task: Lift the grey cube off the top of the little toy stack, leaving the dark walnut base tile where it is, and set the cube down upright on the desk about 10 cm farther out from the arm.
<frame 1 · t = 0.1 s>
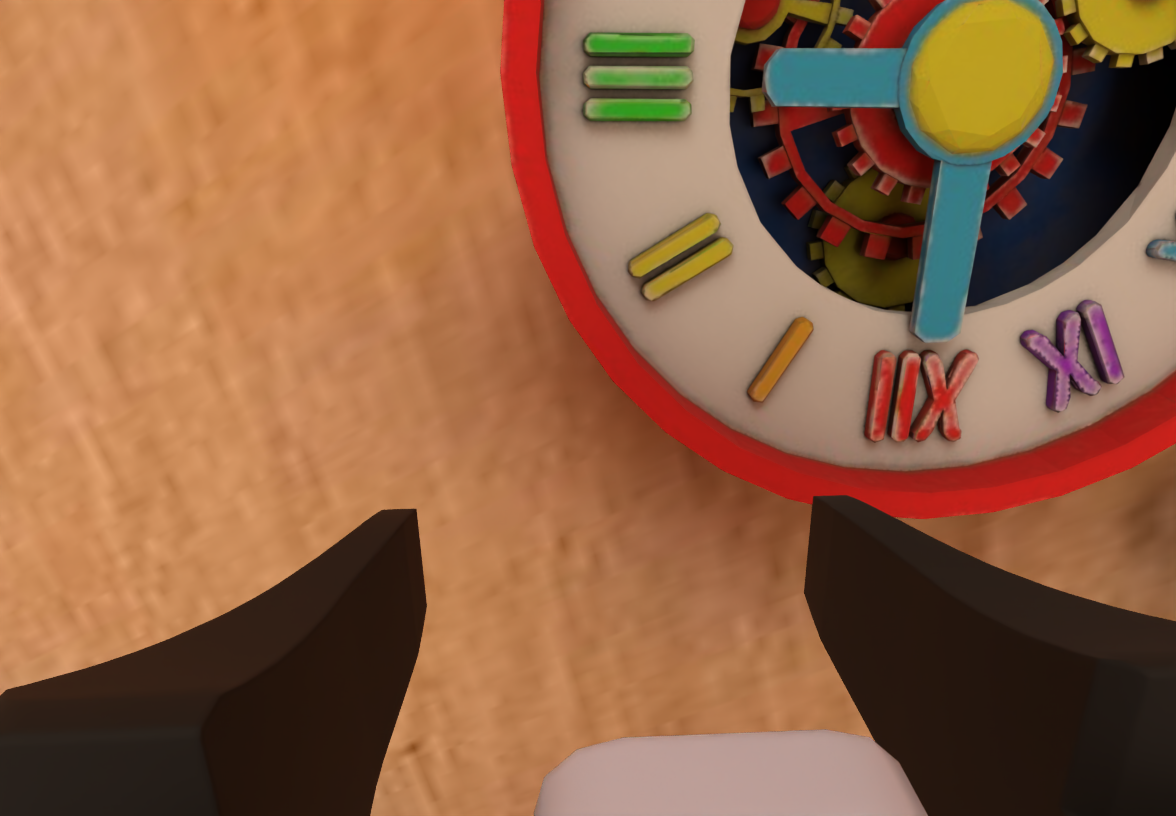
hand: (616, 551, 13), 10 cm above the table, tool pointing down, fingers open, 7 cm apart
toy clock: (878, 93, 21), on the table
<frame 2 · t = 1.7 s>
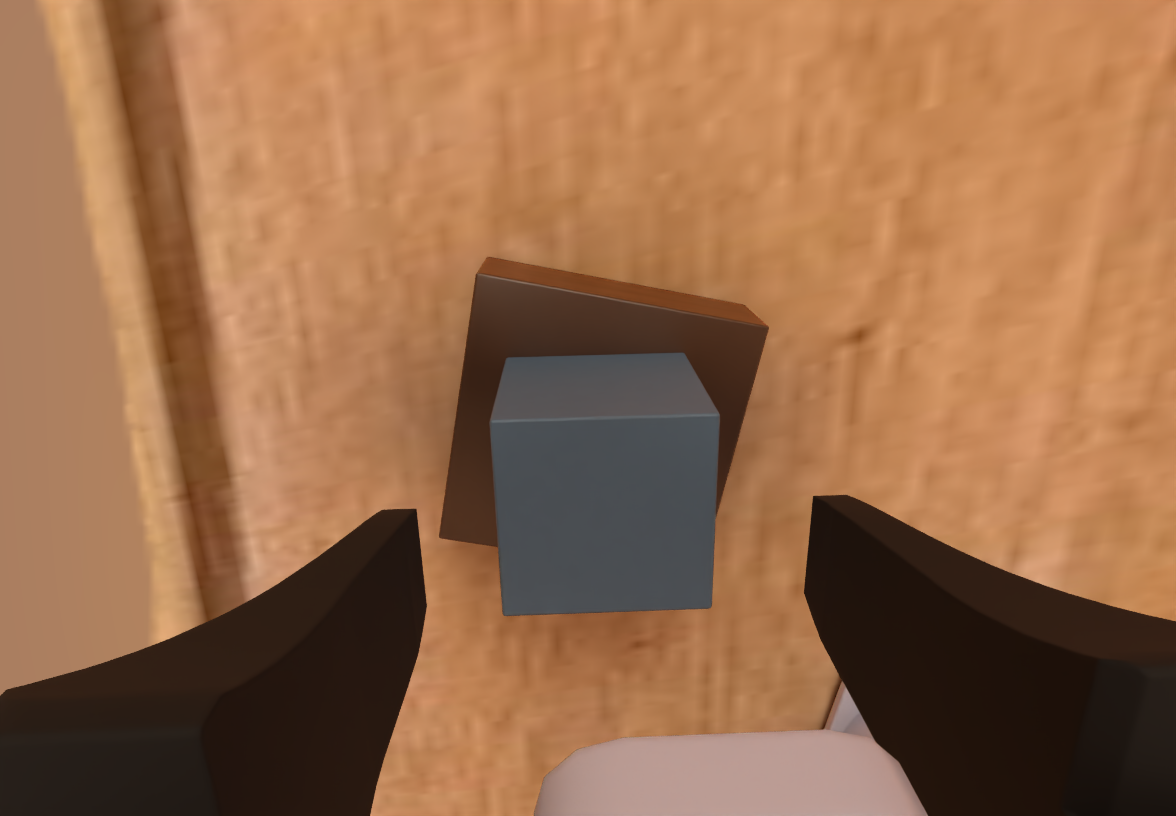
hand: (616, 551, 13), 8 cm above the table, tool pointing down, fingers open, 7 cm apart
grey cube: (596, 437, 19), point 3 cm above the table, touching walnut tile
walnut tile: (592, 403, 21), on the table, touching grey cube
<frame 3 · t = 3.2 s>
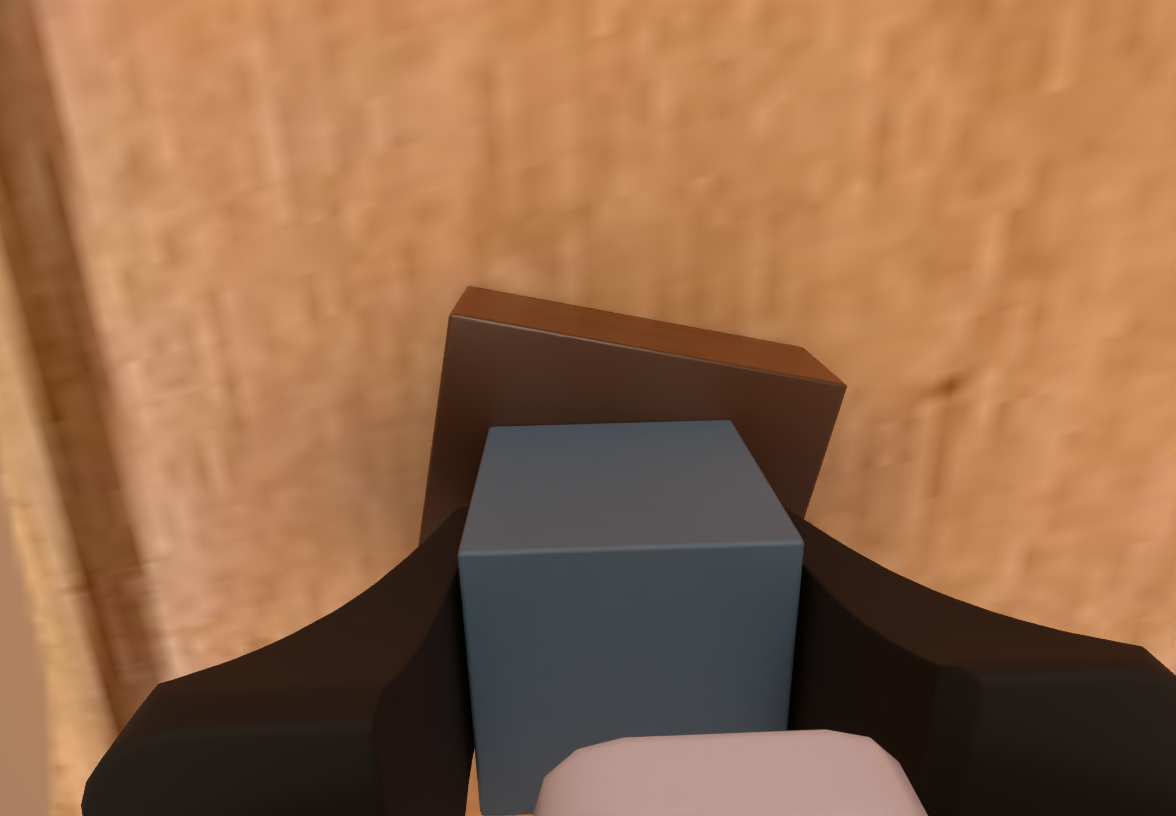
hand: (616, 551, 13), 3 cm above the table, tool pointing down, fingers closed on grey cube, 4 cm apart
grey cube: (611, 529, 14), point 3 cm above the table, touching gripper, walnut tile
walnut tile: (605, 472, 17), on the table, touching grey cube
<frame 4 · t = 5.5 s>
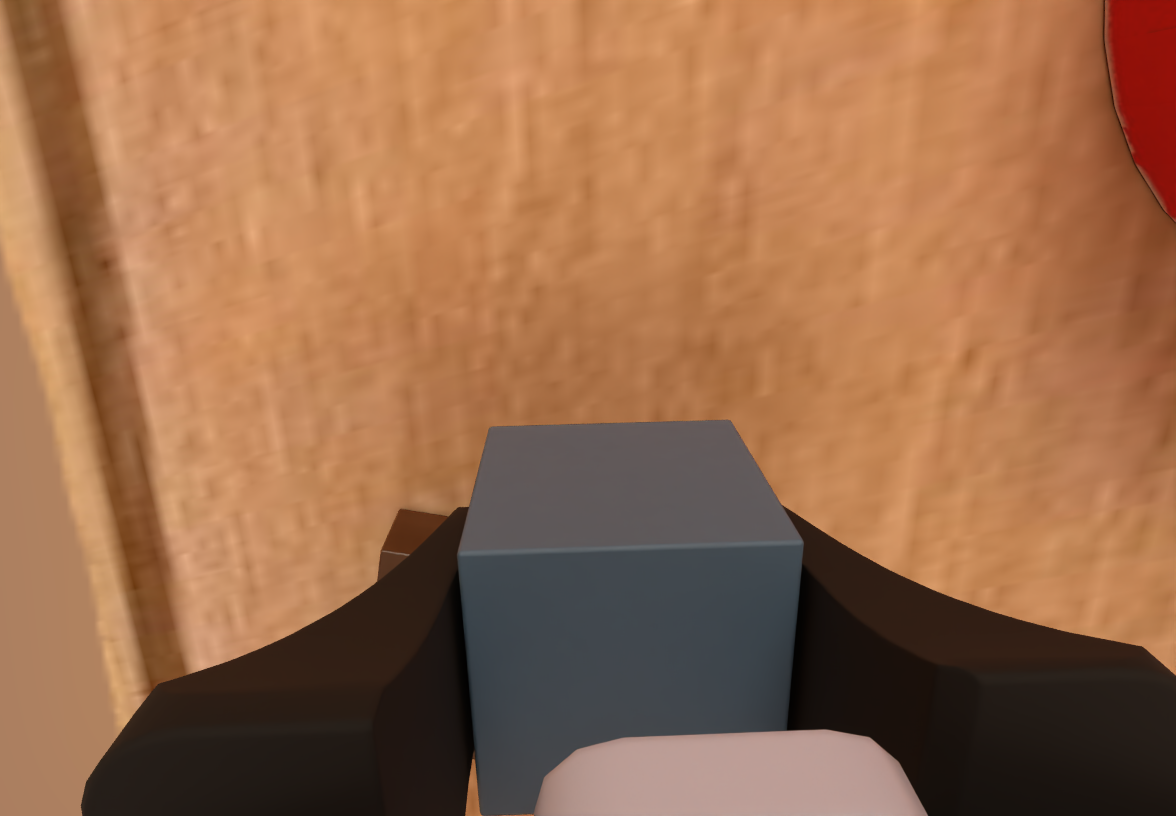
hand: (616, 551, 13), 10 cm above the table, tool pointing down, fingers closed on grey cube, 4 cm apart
grey cube: (611, 529, 14), point 9 cm above the table, touching gripper
walnut tile: (494, 618, 25), on the table
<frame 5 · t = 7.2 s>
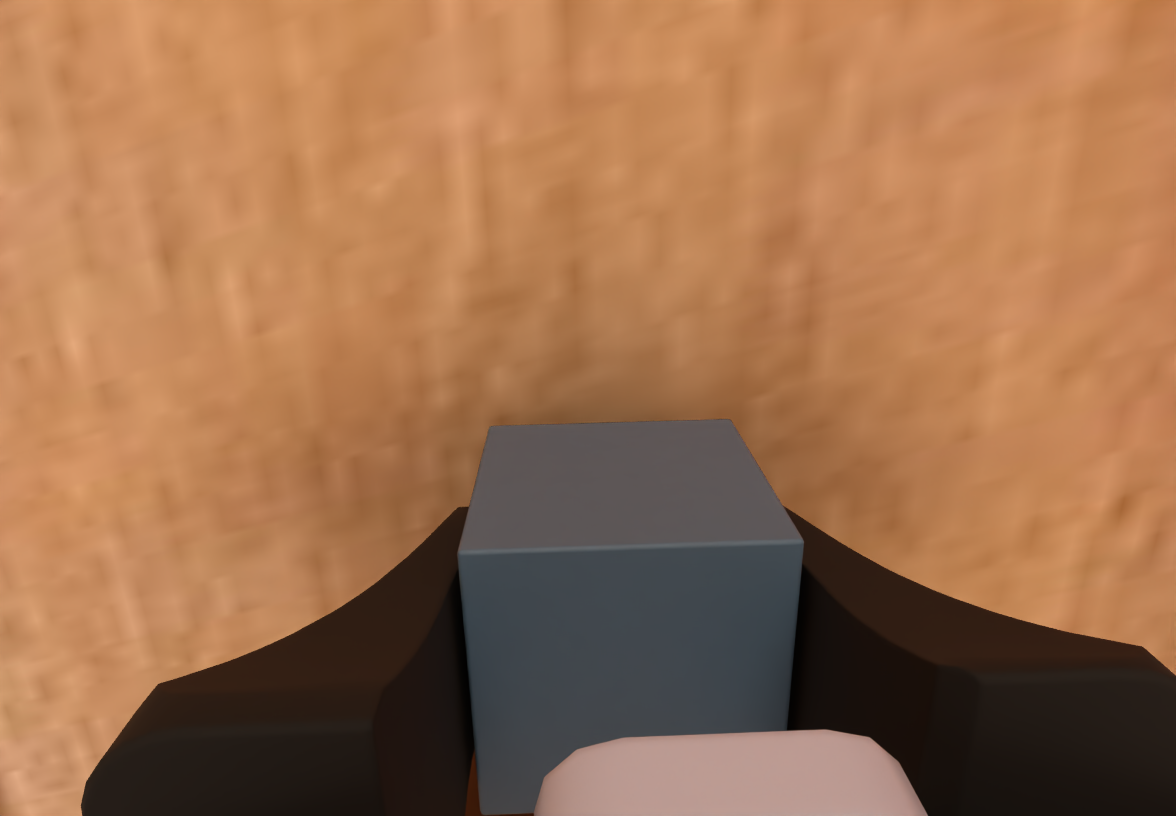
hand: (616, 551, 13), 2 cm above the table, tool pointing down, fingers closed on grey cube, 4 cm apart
grey cube: (611, 528, 14), point 1 cm above the table, touching gripper
when the fingers open (1 cm above the table, at t = 8.1 s): grey cube stays where it is, on the table.
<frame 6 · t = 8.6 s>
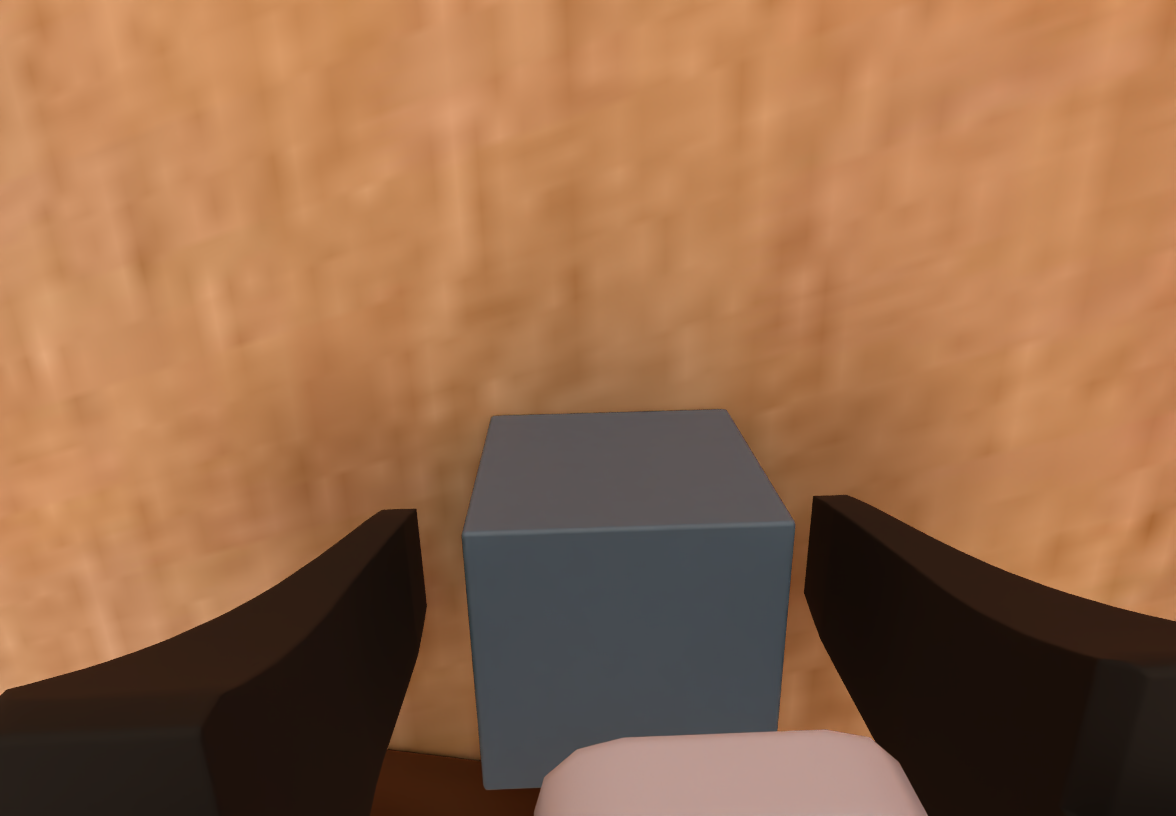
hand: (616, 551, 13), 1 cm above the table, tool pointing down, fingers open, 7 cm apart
grey cube: (610, 516, 15), on the table
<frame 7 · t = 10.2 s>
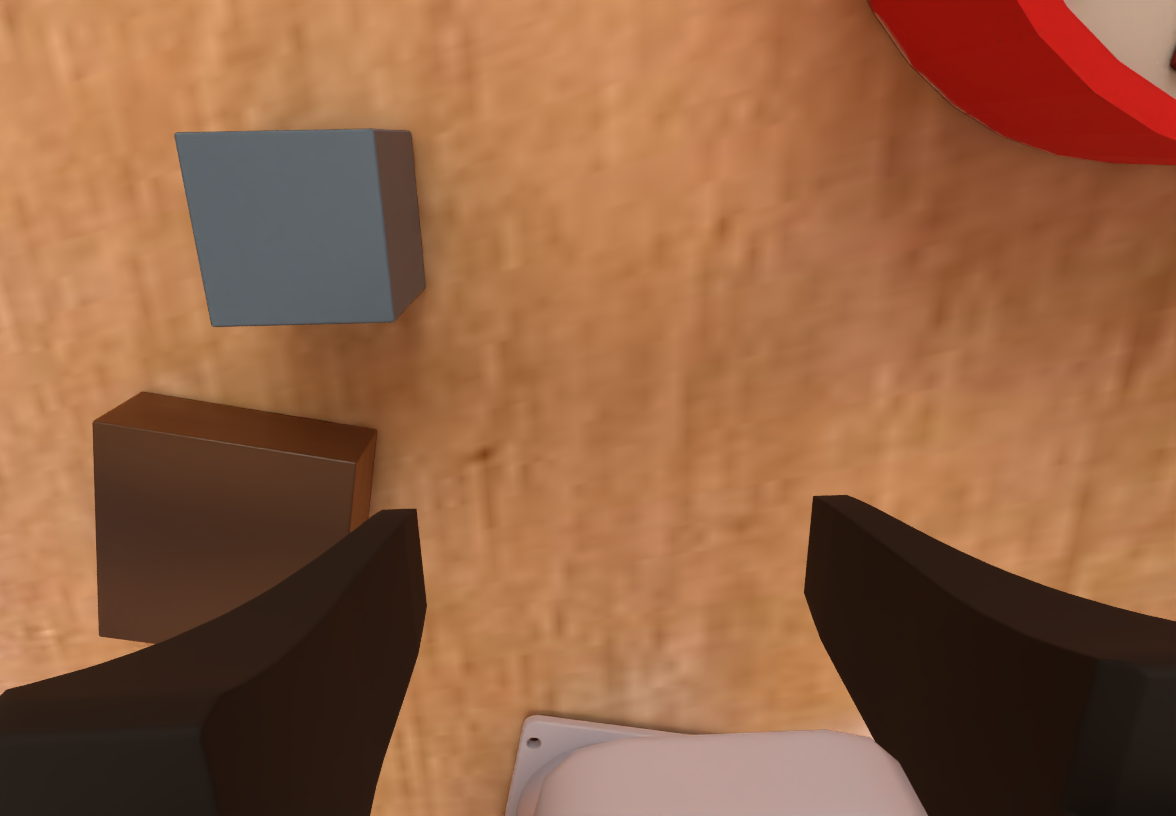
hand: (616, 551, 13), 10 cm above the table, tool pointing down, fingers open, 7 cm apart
grey cube: (341, 214, 21), on the table
walnut tile: (256, 511, 24), on the table
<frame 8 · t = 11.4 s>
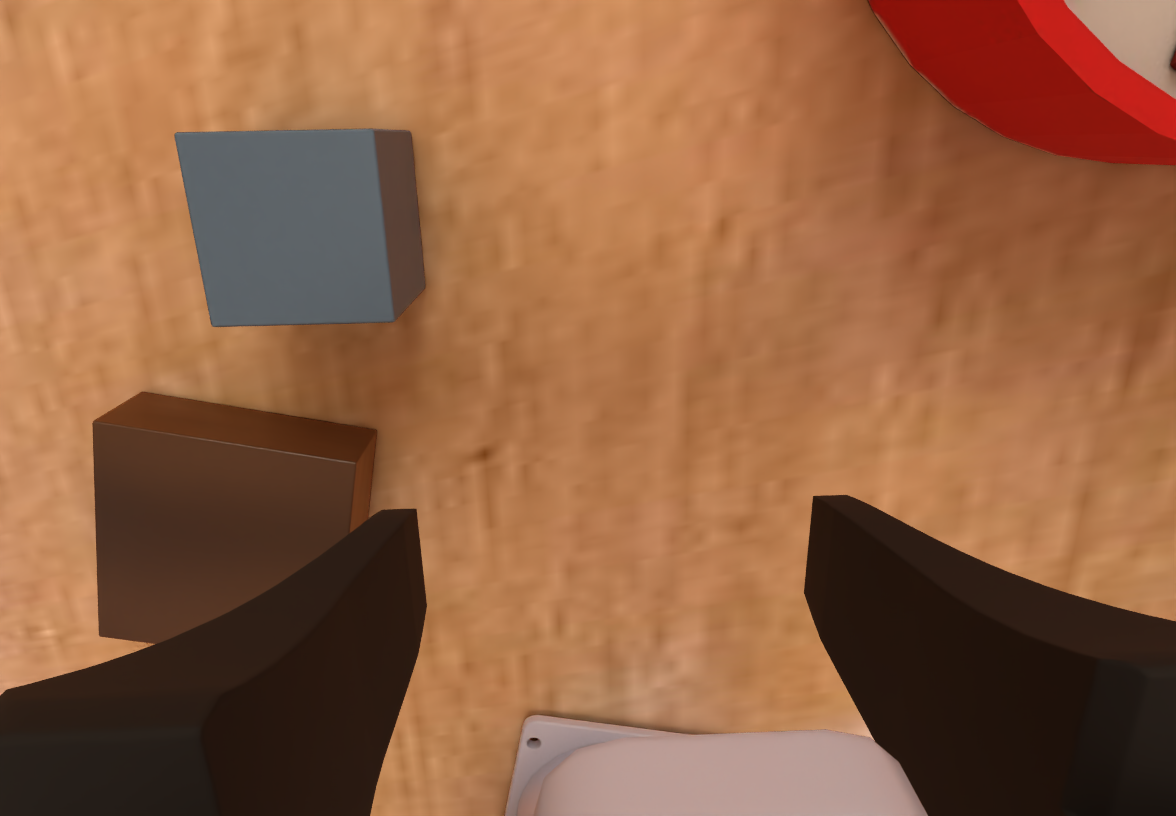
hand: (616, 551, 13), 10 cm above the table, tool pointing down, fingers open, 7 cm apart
grey cube: (341, 214, 21), on the table
walnut tile: (256, 511, 24), on the table
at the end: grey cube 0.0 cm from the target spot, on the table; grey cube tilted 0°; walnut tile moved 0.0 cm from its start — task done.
